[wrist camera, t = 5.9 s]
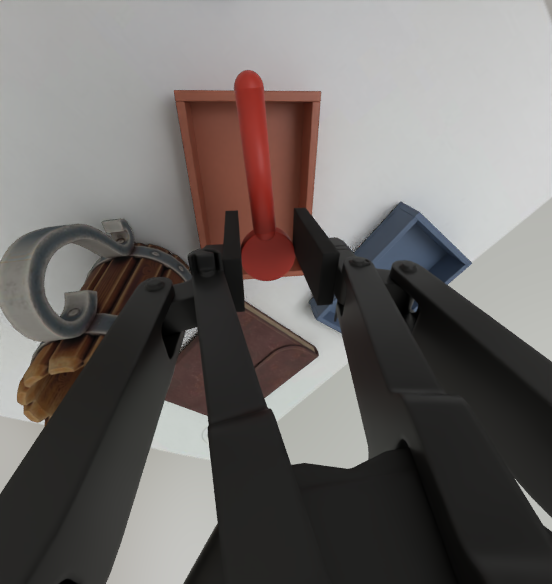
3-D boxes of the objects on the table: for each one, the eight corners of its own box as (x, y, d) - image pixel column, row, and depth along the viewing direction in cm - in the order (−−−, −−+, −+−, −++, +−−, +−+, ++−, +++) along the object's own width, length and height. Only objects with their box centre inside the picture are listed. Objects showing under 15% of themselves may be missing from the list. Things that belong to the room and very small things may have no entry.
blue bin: (400, 201, 28) (419, 211, 25) (451, 249, 33) (472, 263, 30) (308, 302, 34) (315, 319, 31) (361, 331, 38) (372, 349, 36)
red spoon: (208, 75, 13) (206, 71, 12) (283, 68, 13) (287, 64, 12) (244, 277, 19) (245, 287, 18) (293, 270, 19) (297, 280, 18)
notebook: (147, 383, 39) (143, 395, 37) (234, 294, 32) (235, 304, 30) (231, 415, 46) (230, 426, 44) (316, 347, 39) (320, 357, 37)
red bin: (181, 92, 21) (173, 90, 18) (309, 93, 22) (321, 91, 19) (208, 265, 29) (206, 282, 27) (300, 259, 31) (307, 275, 28)
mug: (207, 314, 33) (192, 435, 21) (119, 326, 32) (50, 459, 20) (170, 181, 24) (105, 254, 12) (48, 193, 24) (-155, 286, 11)
